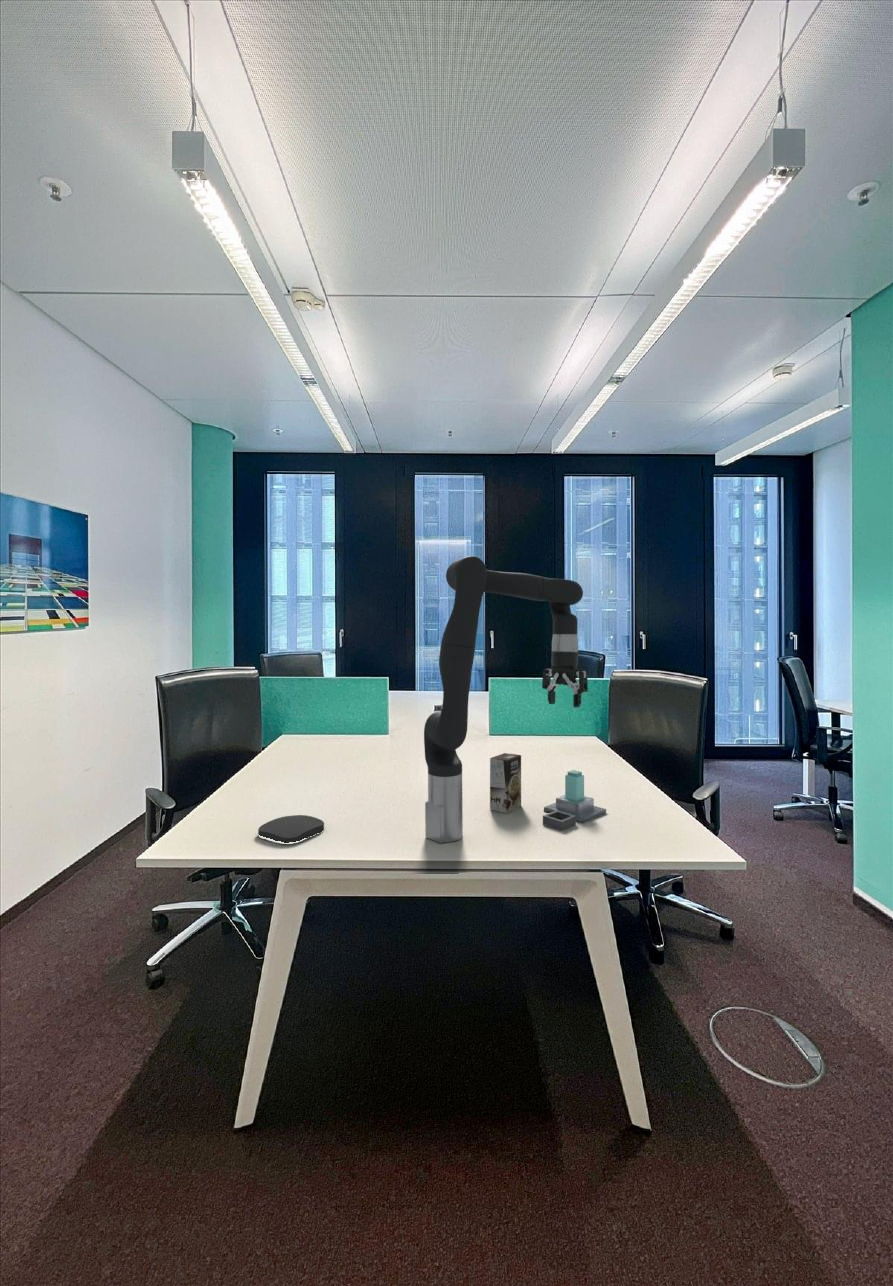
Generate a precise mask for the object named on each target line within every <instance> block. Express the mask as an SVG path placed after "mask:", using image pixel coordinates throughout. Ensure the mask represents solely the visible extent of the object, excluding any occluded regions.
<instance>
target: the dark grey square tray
mask: <svg viewBox="0 0 893 1286" xmlns="http://www.w3.org/2000/svg"><path fill="white" fill-rule="evenodd" d="M542 825H543V826H547V827H549V828H552V829H556V830H558V831H561V832H563V831H565V830H567V829H570V828H571V827H574V826H577V821H576V816H574V815H571V814H567V813H564V812H561V811H557V810H556V811H554V812H551V813H549V812H548V813H546V814H543V815H542Z"/></svg>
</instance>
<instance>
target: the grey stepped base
mask: <svg viewBox="0 0 893 1286" xmlns="http://www.w3.org/2000/svg"><path fill="white" fill-rule="evenodd" d="M594 804H595V799H594V797H591V796H587V795H586V796H585V795H584V800H582V801H579V802H575V801H571V800H567V799H565V794H563V795H561V796H559V797H556V798H555V802H554V803H552V804H548V805H546V806H543V812H546V813H548V814H549V813H551V812H554V811H556V810H557V811H561V812H564V813H567V814H571V815H574V816H576V822H579V823H582V824H585V823H587V822H590V821H591V820H594V819H596V818H598V817H601V816H603V815H605V814H607V809H606V808H604V807H603V808H602V807H600V806H597V805H594Z"/></svg>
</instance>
